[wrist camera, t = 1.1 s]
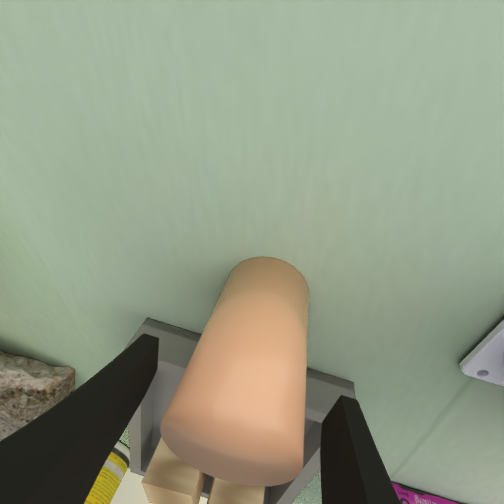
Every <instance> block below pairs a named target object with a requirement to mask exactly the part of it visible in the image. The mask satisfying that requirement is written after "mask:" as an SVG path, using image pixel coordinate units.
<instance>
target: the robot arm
mask: <svg viewBox="0 0 504 504" xmlns="http://www.w3.org/2000/svg"><path fill="white" fill-rule="evenodd" d="M158 350H159V338H158V337H155V336H151V335H148V334H145V333H144V334H142V335H140V336H139V337H138V338H137V339H136V340H135V341H134V342H133V343H132V344H131V345H130V346H129V347H127V348H126V349H125V350H124V351H123V352H122V353H121V354H120V355H118V356H117V357H116V358H115V359H114V360H113V361H111V362H110V363H109V364H108V365H107V366H105V367H104V368H103V369H102V370H100V371H99V372H98V373H97V374H96V375H94V376H93V377H92V378H91V379H89V380H88V381H87V382H86V383H84V384H83V385H82V386H80V387H79V388H78V389H76V390H75V391H74V392H72V393H71V394H70V395H68V396H67V397H66V398H64V399H63V400H61V401H60V402H59V403H57V404H56V405H54V406H53V407H52V408H50V409H49V410H47V411H46V412H44V413H43V414H41V415H40V416H38V417H37V418H35V419H34V420H32V421H31V422H30V423H28V424H26V425H25V426H23V427H22V428H20V429H19V430H17V431H15V432H14V433H12V434H11V435H9V436H7V437H6V438H4V439H3V440H1V441H0V504H84V502H85V500H86V498H87V496H88V494H89V493H90V491H91V489H92V487H93V485H94V483H95V481H96V479H97V477H98V475H99V473H100V471H101V469H102V467H103V465H104V464H105V462H106V460H107V458H108V457H109V455H110V453H111V452H112V450H113V448H114V447H115V445H116V443H117V442H118V440H119V438H120V437H121V435H122V433H123V432H124V430H125V428H126V427H127V425H128V423H129V422H130V420H131V418H132V417H133V415H134V413H135V412H136V410H137V408H138V407H139V405H140V403H141V402H142V400H143V398H144V397H145V395H146V393H147V391H148V389H149V387H150V385H151V382H152V380H153V378H154V376H155V374H156V372H157V369H158ZM459 365H460V369H461V371H462V372H463V373H464V374H465V375H468V376H471V377H474V378H478V379H481V380H484V381H487V382H491V383H494V384H497V385H500V386H504V320H503V321H502V322H501V323H500V324H499V325H498V326H497V327H496V328H495V329H494V330H493V331H492V332H491V333H490V334H489V335H488V336H487V337H486V338H485V339H484V340H483V341H482V342H481V343H480V344H479V345H478V346H476V347H475V348H474V349H473V350H472V351H471V352H470V353H469V354H468V355H467V356H466V357H465V358H464V359H463V360H462V361H461V363H460V364H459ZM320 465H321V489H322V504H401V502H400V500H399V498H398V496H397V493H396V491H395V489H394V487H393V485H392V483H391V480H390V478H389V476H388V474H387V471H386V469H385V467H384V464H383V462H382V460H381V458H380V455H379V453H378V450H377V448H376V446H375V443H374V441H373V438H372V436H371V433H370V431H369V428H368V426H367V423H366V421H365V418H364V415H363V413H362V410H361V408H360V405H359V402H358V401H357V400H356V399H353V398H350V397H347V396H343V395H340V397H339V398H338V400H337V401H336V403H335V404H334V406H333V407H332V408H331V410H330V411H329V413H328V414H327V416H326V417H325V418H324V420H323V421H322V428H321V444H320Z"/></svg>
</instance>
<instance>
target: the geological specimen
mask: <svg viewBox="0 0 504 504" xmlns="http://www.w3.org/2000/svg"><path fill="white" fill-rule="evenodd" d="M74 385H75V369H74V368H71V367H69V366H64V367H58V366H55V367H53V366H50V365H48V364H45V363H43V362H40V361H38V360H33V359H31V358H28V357H25V356H14V355H12V354H9V353H3V352H2V351H0V441H1V440H3V439H4V438H6V437H7V436H9V435H11V434H12V433H14V432H15V431H17V430H19V429H20V428H22V427H23V426H25V425H26V424H28V423H30V422H31V421H32V420H34V419H35V418H37V417H38V416H40V415H41V414H43V413H44V412H46V411H47V410H49V409H50V408H52V407H53V406H54V405H56V404H57V403H59V402H60V401H61V400H63V399H64V398H66V397H67V396H68V395H70V394H71V393H72V392H74Z"/></svg>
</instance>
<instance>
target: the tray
mask: <svg viewBox="0 0 504 504" xmlns="http://www.w3.org/2000/svg"><path fill="white" fill-rule="evenodd" d="M144 333H145V334H148V335H151V336H155V337H158V338H159V350H158V369H157V372H156V374H155V376H154V378H153V380H152V382H151V385H150V387H149V389H148V391H147V393H146V395H145V397H144V398H143V400H142V402H141V403H140V405H139V407H138V408H137V410H136V412H135V413H134V415H133V417H132V418H131V420H130V422H129V423H128V426H129V447H130V468H131V472H133V473H136V474H139V475H142V476H144V475H145V473H146V471H147V468H148V466H149V464H150V462H151V459H152V457H153V455H154V453H155V450H156V448H157V446H158V444H159V441H160V439H161V437H162V436H161V432H160V426H161V422H162V420H163V418H164V415H165V413H166V411H167V409H168V407H169V405H170V402H171V400H172V398H173V396H174V394H175V392H176V389H177V387H178V385H179V383H180V381H181V379H182V376H183V374H184V372H185V370H186V368H187V366H188V363H189V361H190V359H191V357H192V355H193V353H194V350H195V348H196V346H197V344H198V342H199V340H200V337H201V335H200V334H197V333H194V332H191V331H188V330H184V329H181V328H178V327H175V326H172V325H169V324H165V323H162V322H159V321H156V320H153V319H149V318H147V319H146V321H145V322H144V323H143V325H142V326H141V327H140V329H139V330H138V331H137V333H136V334H135V336H134V337H133V338H132V340H131V341H130V342H129V344H128V345H127V347H129V346H130V345H131V344H132V343H133V342H134V341H135V340H136V339H137V338H138V337H139V336H140V335H142V334H144ZM127 347H126V348H127ZM126 348H125V349H126ZM340 395H343V396H347V397H350V398H353V399H355V391H354V383H353V382H350V381H346V380H343V379H340V378H337V377H334V376H331V375H327V374H324V373H321V372H318V371H315V370H311V369H308V368H307V369H306V397H305V426H304V454H303V468H302V471H301V472H300V474H299V475H298V476H297V477H296V478H295V479H293V480H292V481H290V482H287V483H284V484H281V485H275V486H265V491H264V499H263V504H291V503H292V502H293V501H294V500H295V499H296V498H297V496H298V495H299V494H300V493H301V492H302V491H303V489H304V488H305V487H306V486H307V485H308V483H309V482H310V481H311V480H312V479H313V478H314V476H315V475H316V474H317V473H318V472H319V470H320V469H321V465H320V444H321V428H322V421H323V420H324V418H325V417H326V416H327V414H328V413H329V411H330V410H331V408H332V407H333V406H334V404H335V403H336V401H337V400H338V398H339V397H340ZM213 478H214V477H213V476H210V475H208V474H207V475H206V479H205V482H204V486H203V489H202V493H201V496H202V497H205V498H208V497H209V493H210V489H211V486H212V482H213Z"/></svg>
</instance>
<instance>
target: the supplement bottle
mask: <svg viewBox="0 0 504 504" xmlns="http://www.w3.org/2000/svg"><path fill="white" fill-rule="evenodd" d="M129 465H130V450H129V449H128V448H127V447H126V446H125V445H124V444H122V443H121V442H119V441H118V442H117V443H116V445H115V447H114V448H113V450H112V452H111V453H110V455H109V457H108V458H107V460H106V462H105V464H104V465H103V467H102V469H101V471H100V473H99V475H98V477H97V479H96V481H95V483H94V485H93V487H92V489H91V491H90V493H89V494H88V496H87V498H86V500H85V502H84V504H110V502H111V500H112V498H113V496H114V494H115V492H116V490H117V488H118V486H119V484H120V482H121V480H122V478H123V476H124V474H125V472H126V470H127V468H128V466H129Z"/></svg>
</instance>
